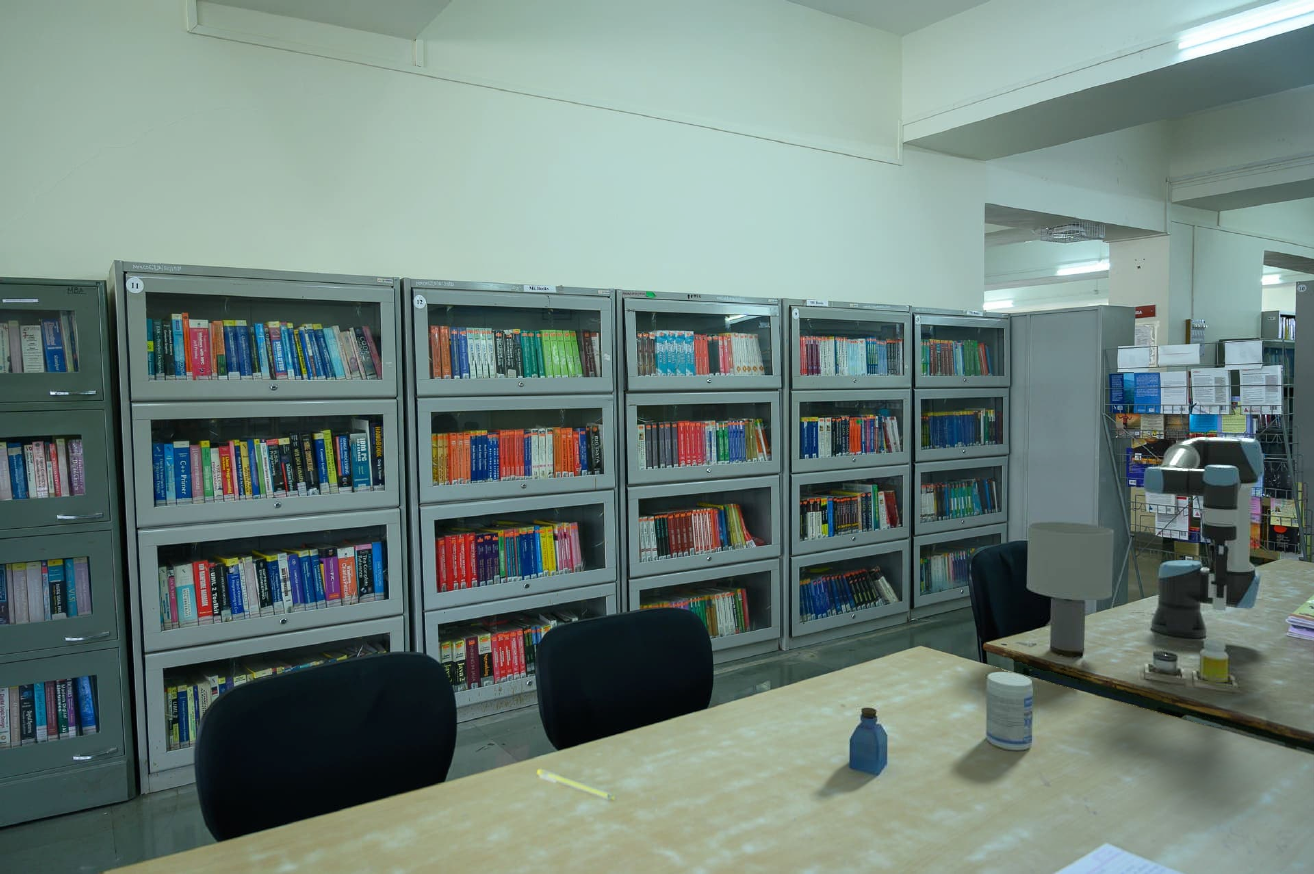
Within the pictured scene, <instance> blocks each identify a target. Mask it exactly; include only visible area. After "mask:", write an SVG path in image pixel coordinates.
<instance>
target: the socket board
mask: <svg viewBox="0 0 1314 874" xmlns="http://www.w3.org/2000/svg"><path fill="white" fill-rule="evenodd" d="M1140 675H1141V676H1140V677H1141V678H1140V679H1141V680H1146V681H1152V682H1157V683H1165V684H1171V685H1177V686H1182V687H1183V686H1184V687H1190V688H1196V689H1197V688H1198V689H1203V690H1211V691H1215V692H1222V693H1229V694H1236V695H1243V693H1242V691H1241V687H1240V685H1239V683H1238V680H1236V679H1235V676H1234V675H1231V674H1228V684H1223V683H1217V682H1210V681H1203V680H1199V669H1191V673H1186V672H1185V668H1183V667H1178V666H1177V676H1170V675H1164V674H1157V673H1153V663H1148V662H1144V667H1143V666H1140Z"/></svg>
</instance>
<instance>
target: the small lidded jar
mask: <svg viewBox="0 0 1314 874" xmlns="http://www.w3.org/2000/svg"><path fill="white" fill-rule="evenodd" d="M1178 656H1179V655H1177V654H1175V653H1173V652H1169V651H1161V650H1160V651H1159V650H1158V651H1153V652H1152V664H1153V673H1157V674H1164V675H1170V676H1177V667H1178V659H1179V657H1178Z"/></svg>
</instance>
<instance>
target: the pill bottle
mask: <svg viewBox="0 0 1314 874" xmlns="http://www.w3.org/2000/svg"><path fill="white" fill-rule="evenodd" d="M1203 647H1204V648H1202V649H1201V650H1200V651H1199V669H1198V671H1199V680H1203V681H1210V682H1217V683H1223V684H1228V675H1229V654H1228V653H1227V652H1226V651H1225V650H1226V644H1225V643H1224V642H1221V641H1218V640H1214V639H1213V640H1210V639H1207V640H1206V639H1205V640H1204V641H1203Z"/></svg>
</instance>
